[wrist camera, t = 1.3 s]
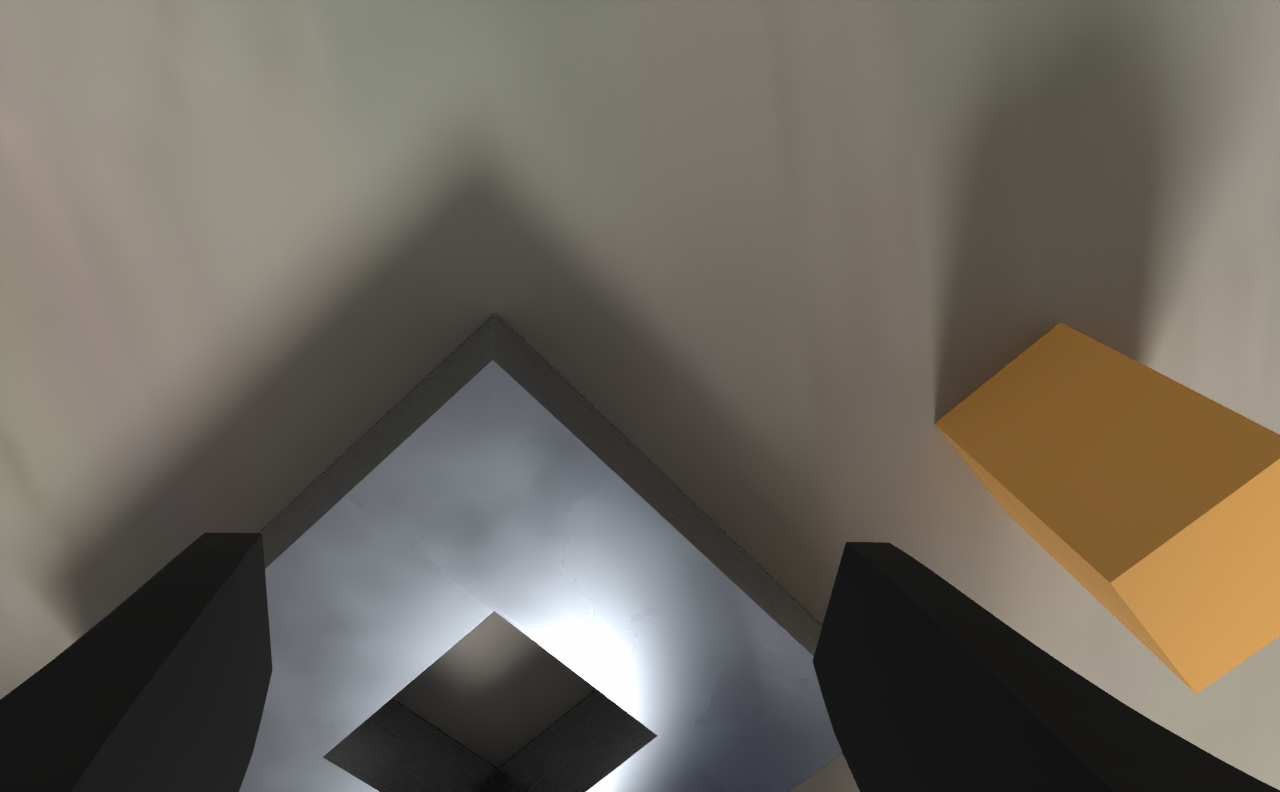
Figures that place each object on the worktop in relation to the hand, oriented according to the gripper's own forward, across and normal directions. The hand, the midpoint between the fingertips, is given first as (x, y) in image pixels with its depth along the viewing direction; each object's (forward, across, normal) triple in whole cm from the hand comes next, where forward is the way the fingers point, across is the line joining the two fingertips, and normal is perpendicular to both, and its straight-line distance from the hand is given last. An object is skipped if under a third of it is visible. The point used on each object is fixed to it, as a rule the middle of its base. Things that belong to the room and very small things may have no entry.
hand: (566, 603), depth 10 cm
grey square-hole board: (+9, 0, +10) cm, 13 cm away
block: (+10, -13, +2) cm, 17 cm away
